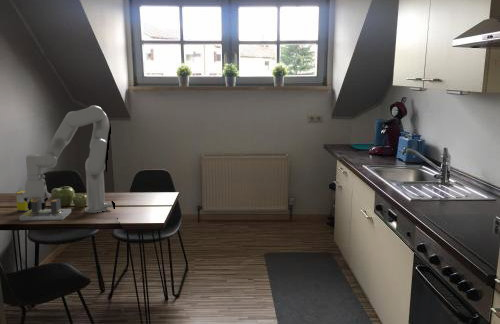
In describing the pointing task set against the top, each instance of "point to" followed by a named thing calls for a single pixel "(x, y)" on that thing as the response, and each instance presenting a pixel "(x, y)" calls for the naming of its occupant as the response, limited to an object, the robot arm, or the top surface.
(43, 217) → the levelling plate
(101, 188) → the robot arm
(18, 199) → the supplement box
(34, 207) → the knob
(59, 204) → the knob
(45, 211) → the bubble vial
